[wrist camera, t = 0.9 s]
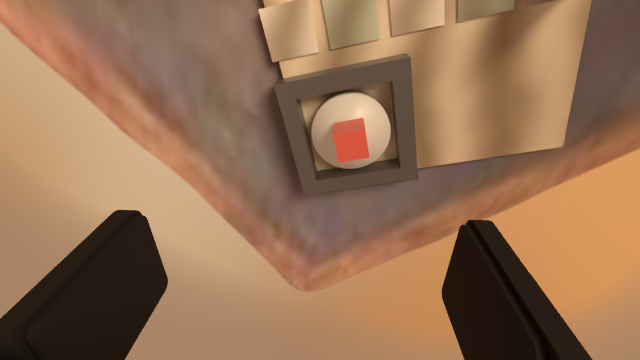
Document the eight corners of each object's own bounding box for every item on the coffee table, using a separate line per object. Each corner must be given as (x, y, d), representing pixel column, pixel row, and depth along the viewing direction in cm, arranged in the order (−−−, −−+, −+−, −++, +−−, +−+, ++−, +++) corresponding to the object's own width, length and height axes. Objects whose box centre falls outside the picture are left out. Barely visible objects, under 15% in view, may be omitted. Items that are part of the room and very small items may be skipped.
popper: (384, 83, 26) (390, 95, 23) (391, 155, 30) (398, 176, 26) (304, 98, 27) (299, 112, 24) (321, 167, 31) (318, 188, 27)
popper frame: (406, 52, 25) (410, 56, 23) (413, 169, 31) (418, 179, 29) (277, 79, 27) (273, 85, 25) (306, 185, 32) (304, 195, 31)
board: (607, -123, 20) (619, -129, 19) (557, 143, 29) (564, 147, 28) (251, -28, 24) (248, -29, 23) (307, 181, 33) (306, 186, 32)
